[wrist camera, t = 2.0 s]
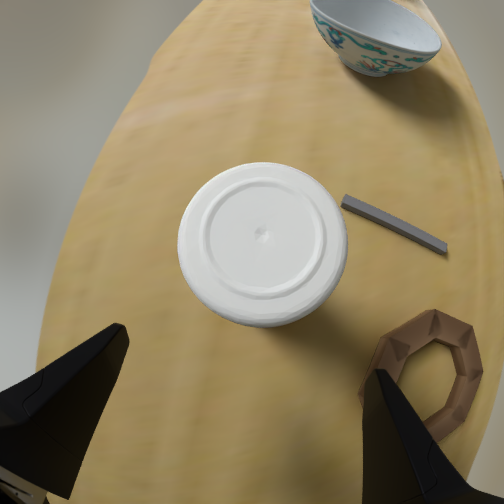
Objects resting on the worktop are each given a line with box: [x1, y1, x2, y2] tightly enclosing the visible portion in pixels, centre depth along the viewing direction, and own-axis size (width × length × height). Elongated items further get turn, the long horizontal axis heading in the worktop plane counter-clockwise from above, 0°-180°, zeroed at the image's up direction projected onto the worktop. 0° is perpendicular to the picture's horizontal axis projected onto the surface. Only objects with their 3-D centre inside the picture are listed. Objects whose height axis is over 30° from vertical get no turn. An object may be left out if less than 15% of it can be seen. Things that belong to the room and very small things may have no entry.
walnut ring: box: [358, 309, 483, 443], centre depth 17 cm, size 11×11×2 cm
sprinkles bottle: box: [178, 162, 348, 328], centre depth 13 cm, size 5×5×13 cm
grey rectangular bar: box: [340, 194, 447, 255], centre depth 20 cm, size 10×1×1 cm, turn 66°
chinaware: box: [310, 0, 442, 77], centre depth 23 cm, size 15×15×8 cm
